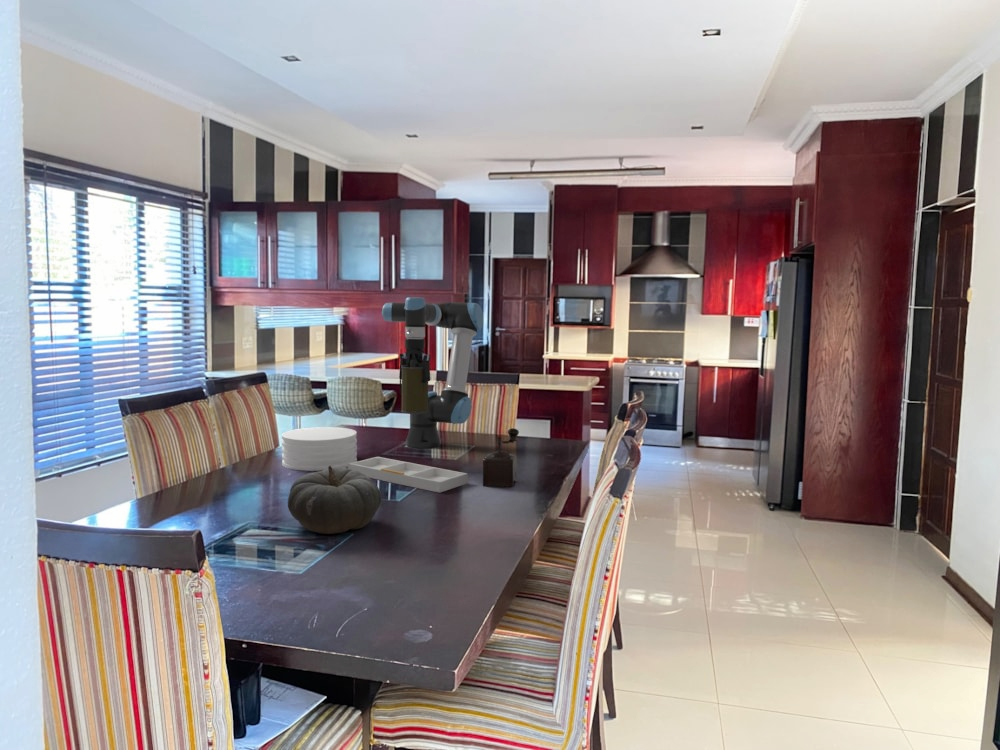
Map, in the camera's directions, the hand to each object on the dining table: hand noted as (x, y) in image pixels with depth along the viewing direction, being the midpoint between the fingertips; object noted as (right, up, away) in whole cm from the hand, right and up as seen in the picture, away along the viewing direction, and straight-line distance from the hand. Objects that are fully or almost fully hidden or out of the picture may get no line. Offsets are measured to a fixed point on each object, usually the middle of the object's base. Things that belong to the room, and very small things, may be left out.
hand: (414, 398), depth 265 cm
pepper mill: (+33, -28, -21) cm, 48 cm away
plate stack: (-37, -25, +5) cm, 45 cm away
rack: (-1, -27, -18) cm, 33 cm away
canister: (0, -5, 0) cm, 5 cm away
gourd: (-13, -33, -72) cm, 80 cm away
